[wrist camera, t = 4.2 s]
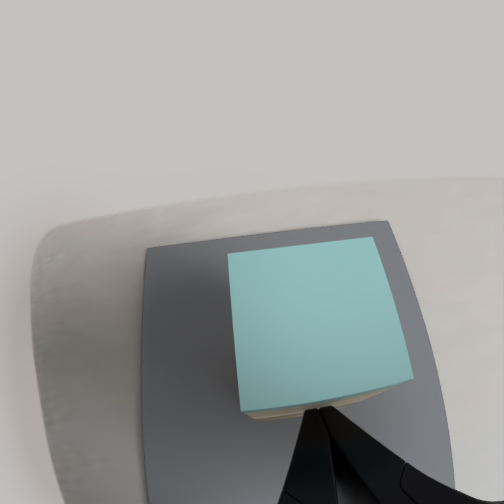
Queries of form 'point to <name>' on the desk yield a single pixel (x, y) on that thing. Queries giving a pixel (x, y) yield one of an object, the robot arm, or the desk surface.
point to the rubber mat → (226, 381)
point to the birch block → (314, 328)
